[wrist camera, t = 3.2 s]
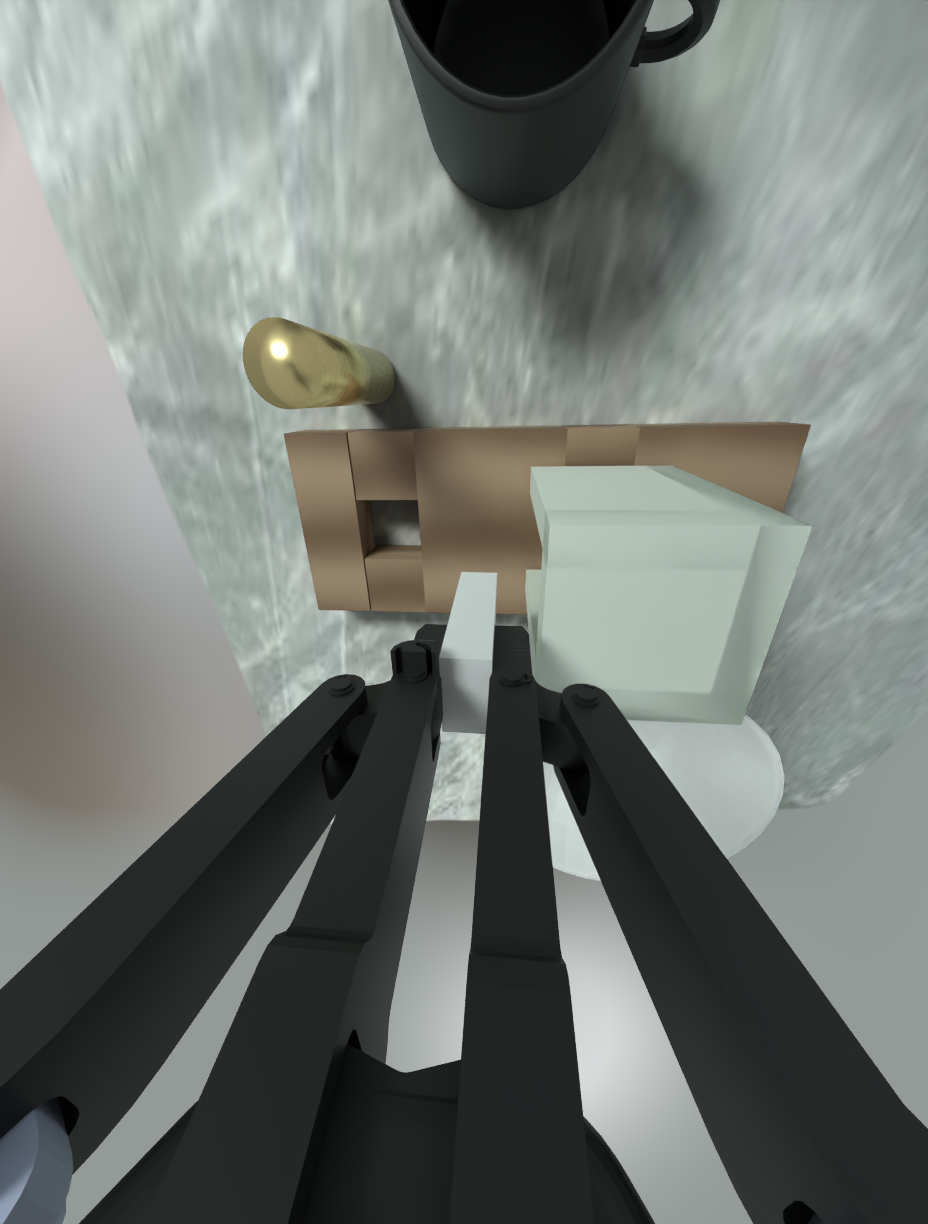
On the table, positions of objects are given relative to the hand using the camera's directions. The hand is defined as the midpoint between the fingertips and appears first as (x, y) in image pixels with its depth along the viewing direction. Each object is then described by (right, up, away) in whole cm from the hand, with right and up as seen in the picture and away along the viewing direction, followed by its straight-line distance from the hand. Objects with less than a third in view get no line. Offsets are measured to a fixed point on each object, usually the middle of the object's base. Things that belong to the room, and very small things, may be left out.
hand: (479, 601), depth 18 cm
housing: (+7, +5, +8) cm, 12 cm away
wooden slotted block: (+4, +6, +12) cm, 14 cm away
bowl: (+12, -10, +19) cm, 25 cm away
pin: (-6, +14, +9) cm, 18 cm away
